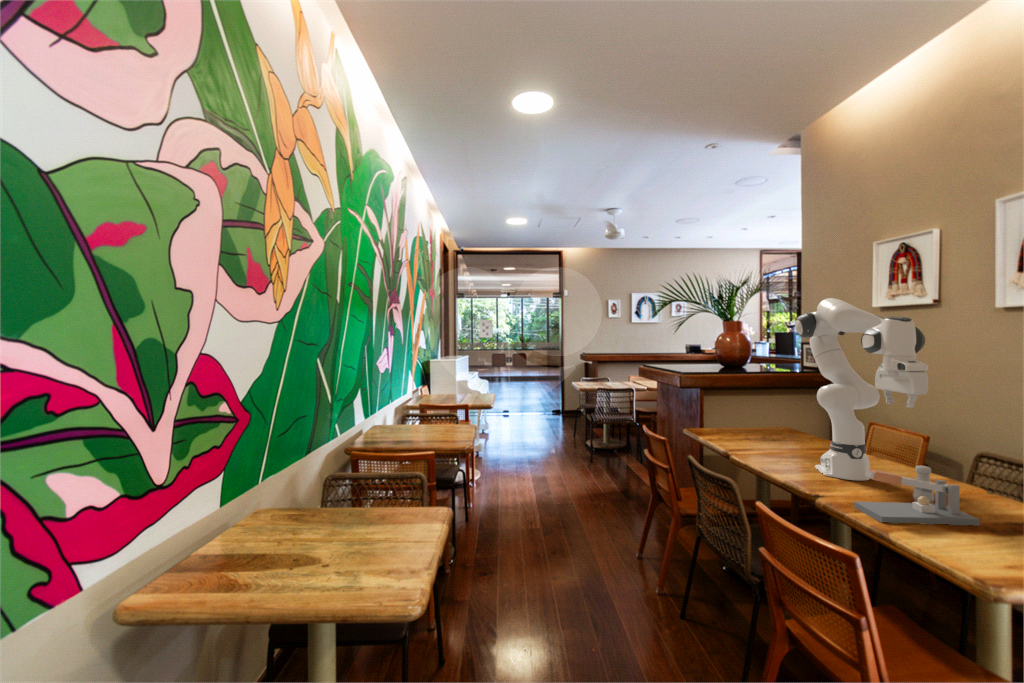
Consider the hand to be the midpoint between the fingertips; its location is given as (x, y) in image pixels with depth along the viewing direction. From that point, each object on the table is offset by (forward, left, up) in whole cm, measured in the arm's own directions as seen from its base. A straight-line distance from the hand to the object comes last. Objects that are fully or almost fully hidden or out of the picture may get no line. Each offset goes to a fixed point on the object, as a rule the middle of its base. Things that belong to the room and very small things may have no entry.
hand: (899, 405), depth 160 cm
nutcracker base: (+6, 0, -35) cm, 36 cm away
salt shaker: (-7, +12, -35) cm, 38 cm away
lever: (+6, -1, -26) cm, 27 cm away
